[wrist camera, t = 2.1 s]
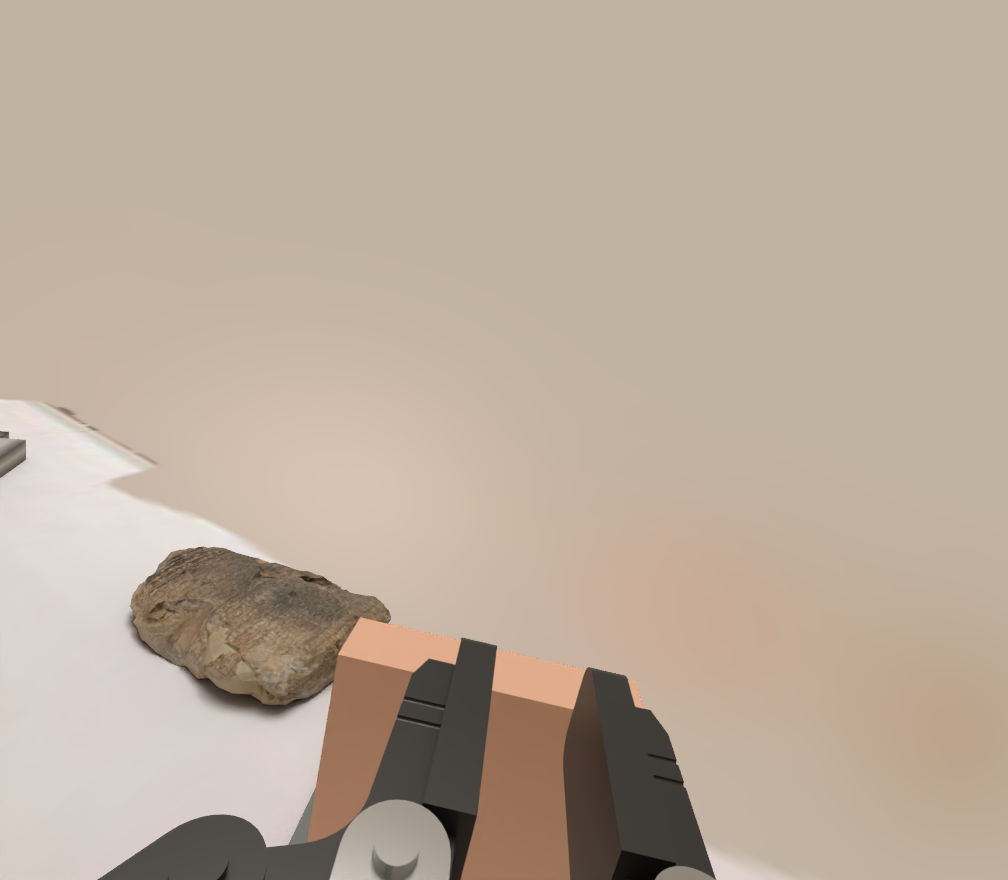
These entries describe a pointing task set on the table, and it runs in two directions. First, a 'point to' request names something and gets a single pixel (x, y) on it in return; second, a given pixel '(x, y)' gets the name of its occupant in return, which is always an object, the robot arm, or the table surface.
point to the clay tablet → (249, 622)
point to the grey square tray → (10, 452)
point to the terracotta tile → (507, 760)
